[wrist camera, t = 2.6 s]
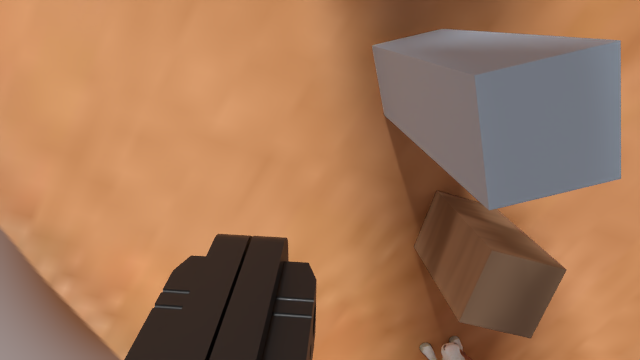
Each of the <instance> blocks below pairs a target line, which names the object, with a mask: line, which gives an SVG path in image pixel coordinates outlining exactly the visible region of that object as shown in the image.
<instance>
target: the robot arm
mask: <svg viewBox="0 0 640 360" xmlns="http://www.w3.org/2000/svg"><path fill="white" fill-rule="evenodd" d="M315 322H316V278H315V276H314V274H313V271H312V269H311V267H310V265H309V263H302V262H288V240H287V238H280V237H263V236H253V237H252V236H244V235H228V234H217V235H216V237H215V239H214V241H213V243H212V245H211V247H210V249H209V252H208V254H207V256H206V257H205V256H190V257H189V258H188V259H186V260H185V261H184V262H183V263H182V264H180V265H179V266H178V267H177V268H176V269H174V270H173V272H172V274H171V275H170V277H169V279H168V281H167V283H166V284H165V286H164V288H163V293H162V292H161V294H160V295H159V297H158V299H157V301H156V303H155V307H154V308H152V310H151V312H150V314H149V316H148V317H147V319H146V321H145V323H144V325H143V327H142V328H141V330H140V332H139V334H138V336H137V338H136V339H135V341H134V343H133V345H132V347H131V349H130V350H129V352H128V354H127V356H126V358H125V359H124V360H312V358H313V349H314V340H315Z"/></svg>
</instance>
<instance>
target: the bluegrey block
mask: <svg viewBox="0 0 640 360" xmlns="http://www.w3.org/2000/svg"><path fill="white" fill-rule="evenodd" d="M372 50H373V55H374V61H375V67H376V72H377V78H378V83H379V89H380V95H381V100H382V106H383V112H384V115H385V116H386V117H387V118H388V119H389V120H390V121H391V122H392V123H393V124H394V125H396V126H397V127H398V128H399V129H400V130H401V131H402V132H403V133H404V134H405V135H407V136H408V137H409V138H410V139H411V140H412V141H413V142H414V143H415V144H416V145H418V146H419V147H420V148H421V149H422V150H423V151H424V152H425V153H426V154H427V155H429V156H430V157H431V158H432V159H433V160H434V161H435V162H436V163H437V164H438V165H440V166H441V167H442V168H443V169H444V170H445V171H446V172H447V173H448V174H449V175H451V176H452V177H453V178H454V179H455V180H456V181H457V182H458V183H459V184H461V185H462V186H463V187H464V188H465V189H466V190H467V191H468V192H469V193H470V194H472V195H473V196H474V197H475V198H476V199H477V200H478V201H479V202H480V203H481V204H483V205H484V206H485V207H486V208H487V209H488V210H493V209H497V208H501V207H506V206H510V205H514V204H518V203H522V202H526V201H530V200H535V199H539V198H543V197H547V196H551V195H555V194H560V193H564V192H568V191H572V190H576V189H580V188H584V187H589V186H593V185H597V184H601V183H605V182H609V181H613V180H618V179H621V43H620V40H606V39H591V38H575V37H560V36H545V35H530V34H514V33H499V32H484V31H469V30H454V29H439V30H434V31H430V32H426V33H422V34H418V35H413V36H409V37H405V38H401V39H397V40H392V41H388V42H384V43H380V44H376V45H372Z"/></svg>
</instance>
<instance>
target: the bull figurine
mask: <svg viewBox="0 0 640 360" xmlns="http://www.w3.org/2000/svg"><path fill="white" fill-rule="evenodd" d="M420 351H421V352H422V353H423V354H425V355H426V357H427V358H428V359H429V360H437V358H436V357H435V353H434V351H433V349H432V347H431V345H430V344H429V343H423V344H421V345H420ZM441 353H442V356H443V357H442V360H472V359H471V358H469V357H468V356H467V355H466V354H465V352H463V346H462V345H461V342H460V339H459V338H458V337H457V336H453V337H451V338H450V339H449V343H446V344H444V345H443V346H442V348H441Z"/></svg>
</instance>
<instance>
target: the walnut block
mask: <svg viewBox="0 0 640 360" xmlns="http://www.w3.org/2000/svg"><path fill="white" fill-rule="evenodd" d="M414 248H415V250H416V251H417V253H418V255H419V256H420V258H421V260H422V261H423V263H424V265H425V266H426V268H427V270H428V271H429V273H430V275H431V276H432V278H433V280H434V281H435V283H436V285H437V286H438V288H439V290H440V291H441V293H442V295H443V296H444V298H445V300H446V301H447V303H448V305H449V306H450V308H451V310H452V311H453V313H454V315H455V316H456V318H457V320H458V322H461V323H465V324H470V325H474V326H479V327H483V328H487V329H492V330H496V331H501V332H505V333H509V334H514V335H518V336H523V337H527V338H531V337H532V335H533V333H534V331H535V329H536V327H537V326H538V324H539V322H540V320H541V318H542V316H543V314H544V312H545V310H546V308H547V306H548V304H549V303H550V301H551V299H552V297H553V295H554V293H555V291H556V289H557V287H558V285H559V283H560V281H561V280H562V278H563V276H564V274H565V272H566V269H565V268H564V267H563V266H562V265H560V264H559V263H558V262H557V261H556V260H555V259H554V258H552V257H551V256H550V255H549V254H548V253H547V252H546V251H544V250H543V249H542V248H541V247H540V246H539V245H537V244H536V243H535V242H534V241H533V240H532V239H531V238H529V237H528V236H527V235H526V234H525V233H524V232H523V231H521V230H520V229H519V228H518V227H517V226H516V225H514V224H513V223H512V222H511V221H510V220H509V219H508V218H506V217H505V216H504V215H503V214H502V213H501V212H500V211H498V210H497V209H493V210H488V209H487V208H486V207H485V206H484V205H483V204H481V203H479V202H476V201H472V200H469V199H465V198H461V197H458V196H454V195H451V194H447V193H443V192H440V191H436V193H435V196H434V198H433V201H432V203H431V206H430V208H429V211H428V213H427V216H426V218H425V220H424V223H423V225H422V228H421V230H420V233H419V235H418V238H417V240H416V243H415V245H414Z"/></svg>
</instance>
